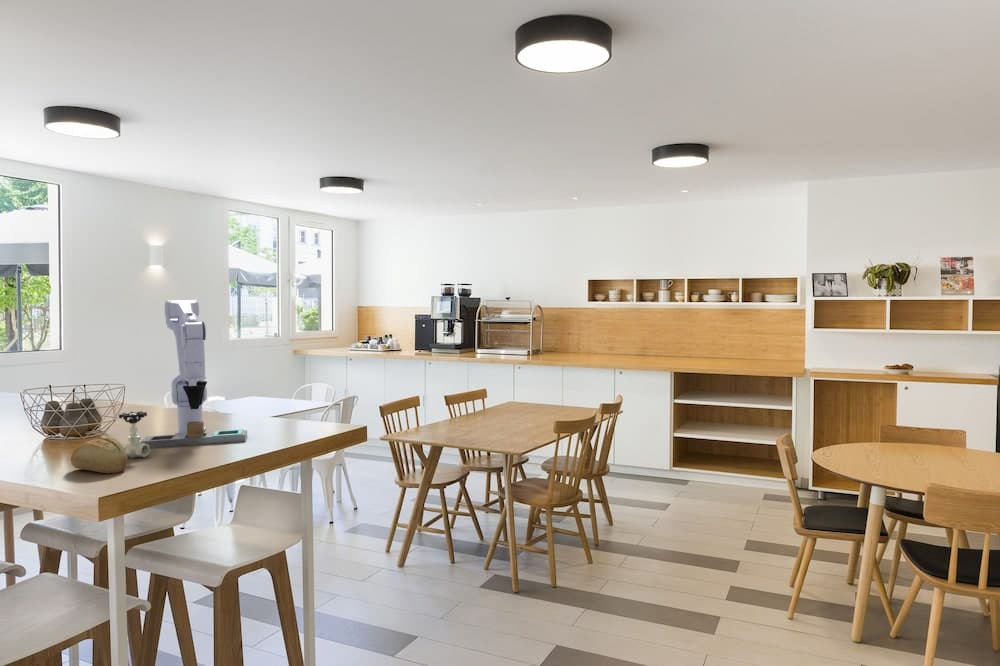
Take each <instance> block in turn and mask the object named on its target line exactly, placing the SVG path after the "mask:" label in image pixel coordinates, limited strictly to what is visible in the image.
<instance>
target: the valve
mask: <svg viewBox="0 0 1000 666" xmlns="http://www.w3.org/2000/svg"><path fill="white" fill-rule="evenodd" d="M147 416H148V413H147V411H142V410H141V411H137V412H135V411H129V412H127V413H126V412H122V413H121V414H119V415H118V419H123V420H124V422H126V423H129V424H130V426H129V433H130V435H129V436H127V442H123V443H121V444H122V445H123V447H124V449H125V452H126V455H127V458H131V459H137V458H147V456H148V455H149V454H150V449H151V448H149V445H147V444H145V443H141V442H140V440H141V435H139V434H138V433H137V432H138V426H137V425H136V424H138V422H140V421H141V420H142V418H145V417H147Z"/></svg>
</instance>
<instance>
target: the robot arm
mask: <svg viewBox="0 0 1000 666" xmlns="http://www.w3.org/2000/svg"><path fill="white" fill-rule="evenodd" d="M199 306H200V305H199V301H198V300H197V299H183V300H181V299H175V300H173V299H171V300H169V299H166V301H164V315H165V317H164V318H165V324H166V326H167V328H168V329H169V330H172V331H173V334H174V337H175V345H176V353H177V363H178V372H179V375H177V376H176V377H175V378H173V379H172V381H171V400H172V403H173V405H176V408H177V431H176V432H174V433H175V434H174V435H177V434H187V423H188V422H193V421H204V417H203V404H204V403H205V402H206V401H207V398H208V390H207V384H208V381H207V380H206V379H207V376H206V360H205V359H206V358H205V355H206V354H205V341H206V336H207V327H206V324H205V321H200V319H199V315H200V307H199ZM206 429H207V426H204V431H205V430H206Z"/></svg>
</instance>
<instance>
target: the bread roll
mask: <svg viewBox="0 0 1000 666" xmlns="http://www.w3.org/2000/svg"><path fill="white" fill-rule="evenodd" d="M122 444H123V443H121V442H120V441H119V440H116V439H115V438H109V437H107V438H106V437H105V438H104V437H98V438H94V439H91V440H89V441H85V442H83V443H81V444H80V445H78V446H76V448H74V450H73V451H72V454H71V457H70V463H71V465H72V467H74V468H75V469H78V470H85V471H89V472H97V473H100V474H110V473H112V474H118V473H120V472H121V471H123V470H124V469H125V468H126V466H127V463H128V457H127V455H126V452H125V449H124V447H123V445H122ZM117 472H118V473H117Z"/></svg>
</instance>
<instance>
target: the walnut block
mask: <svg viewBox="0 0 1000 666" xmlns="http://www.w3.org/2000/svg"><path fill="white" fill-rule="evenodd" d="M204 425H205V424H204V420H203V421H193V422H188V423H187V438H192V437H204V433H205V430H204V427H205V426H204Z"/></svg>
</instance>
